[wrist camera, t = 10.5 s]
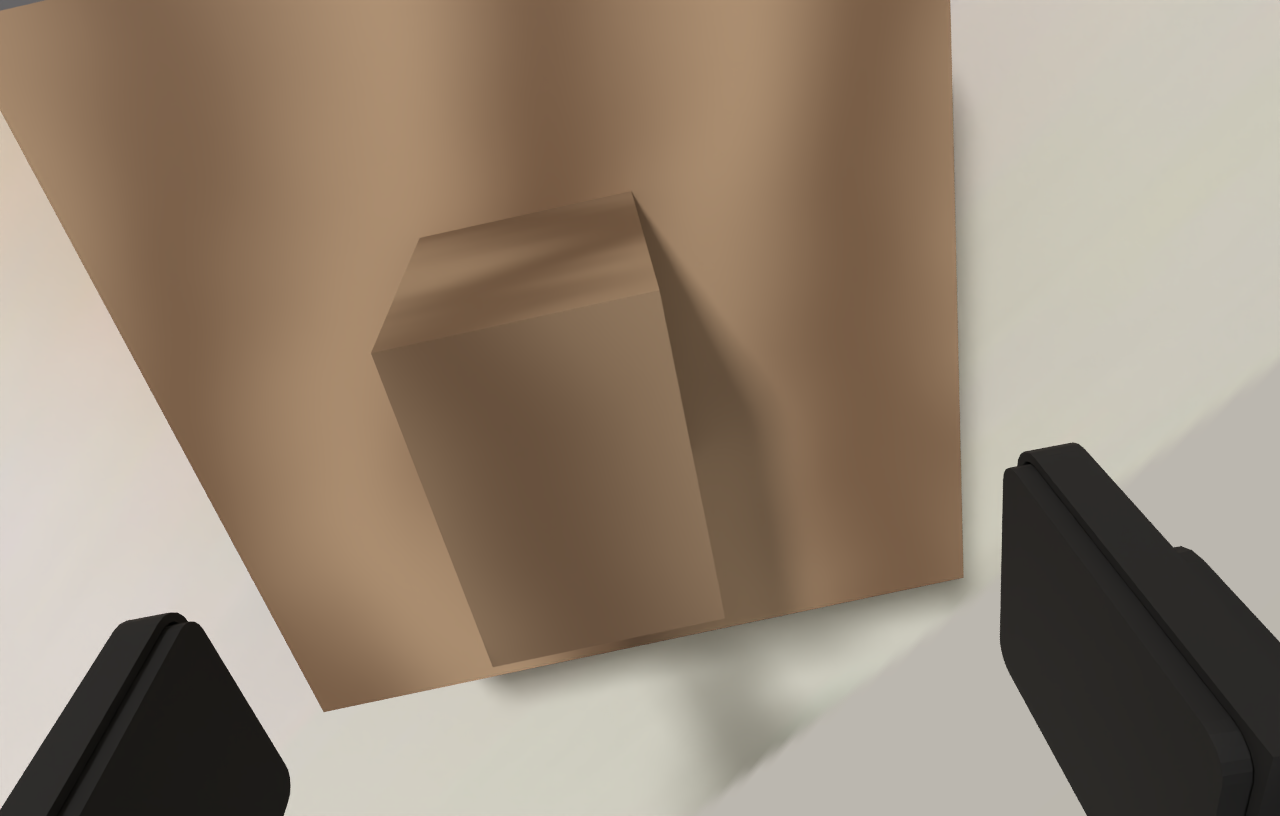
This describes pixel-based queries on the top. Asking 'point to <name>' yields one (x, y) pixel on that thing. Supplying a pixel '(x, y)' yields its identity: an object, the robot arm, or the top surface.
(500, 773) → the top surface
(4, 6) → the mat
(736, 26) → the lid
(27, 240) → the top surface
